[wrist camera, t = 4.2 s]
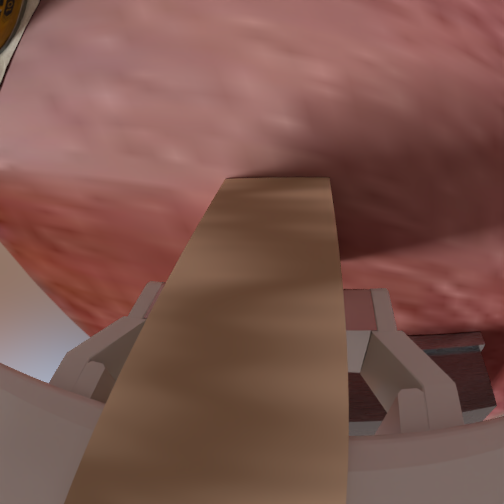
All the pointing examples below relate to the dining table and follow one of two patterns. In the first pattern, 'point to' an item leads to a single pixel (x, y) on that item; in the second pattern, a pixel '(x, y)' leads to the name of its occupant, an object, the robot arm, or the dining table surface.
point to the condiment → (13, 26)
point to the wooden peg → (235, 364)
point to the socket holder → (451, 362)
